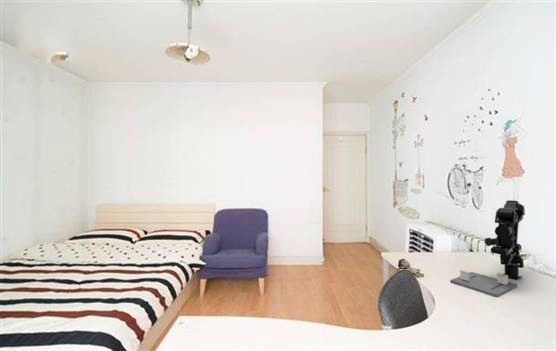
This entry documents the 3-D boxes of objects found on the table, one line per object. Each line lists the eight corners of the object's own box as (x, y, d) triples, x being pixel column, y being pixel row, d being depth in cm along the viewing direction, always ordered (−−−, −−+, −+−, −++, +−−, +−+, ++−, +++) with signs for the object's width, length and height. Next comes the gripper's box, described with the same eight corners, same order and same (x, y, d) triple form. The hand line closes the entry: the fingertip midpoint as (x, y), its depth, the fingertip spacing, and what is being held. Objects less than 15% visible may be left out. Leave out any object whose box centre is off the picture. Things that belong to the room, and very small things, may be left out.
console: (472, 274, 151) (472, 270, 151) (517, 286, 134) (517, 283, 134) (450, 282, 140) (450, 278, 140) (497, 297, 123) (497, 293, 123)
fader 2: (498, 281, 136) (498, 273, 136) (508, 284, 133) (508, 275, 133) (496, 282, 135) (496, 273, 135) (506, 285, 132) (506, 276, 132)
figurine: (417, 271, 145) (395, 258, 158) (415, 282, 146) (393, 268, 159) (427, 269, 148) (405, 256, 161) (425, 280, 149) (403, 266, 163)
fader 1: (461, 277, 142) (461, 269, 142) (470, 280, 138) (470, 272, 138) (459, 278, 141) (459, 270, 141) (468, 281, 137) (468, 272, 137)
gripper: (495, 229, 148) (495, 258, 148) (478, 233, 139) (478, 264, 139) (521, 233, 138) (521, 263, 139) (505, 238, 129) (505, 271, 129)
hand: (506, 265), depth 137 cm, fingers closed
